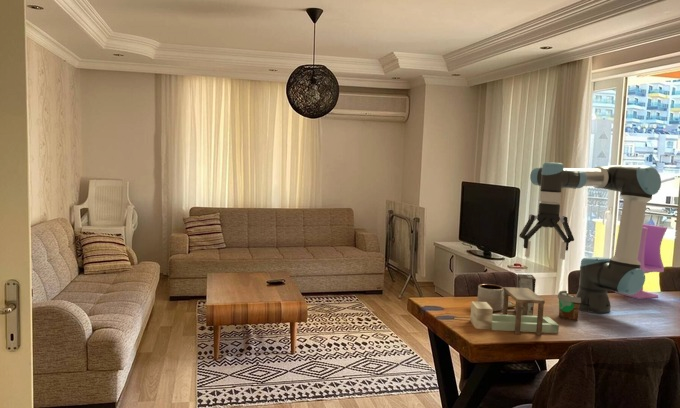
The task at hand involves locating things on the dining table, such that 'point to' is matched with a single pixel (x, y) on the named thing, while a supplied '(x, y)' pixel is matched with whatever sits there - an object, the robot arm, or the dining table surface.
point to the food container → (568, 306)
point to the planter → (491, 295)
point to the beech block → (481, 315)
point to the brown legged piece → (523, 297)
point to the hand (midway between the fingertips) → (544, 258)
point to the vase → (649, 255)
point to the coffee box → (526, 282)
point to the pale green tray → (523, 323)
